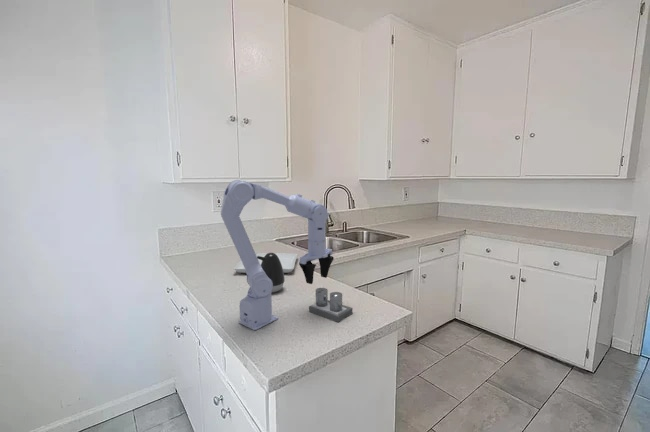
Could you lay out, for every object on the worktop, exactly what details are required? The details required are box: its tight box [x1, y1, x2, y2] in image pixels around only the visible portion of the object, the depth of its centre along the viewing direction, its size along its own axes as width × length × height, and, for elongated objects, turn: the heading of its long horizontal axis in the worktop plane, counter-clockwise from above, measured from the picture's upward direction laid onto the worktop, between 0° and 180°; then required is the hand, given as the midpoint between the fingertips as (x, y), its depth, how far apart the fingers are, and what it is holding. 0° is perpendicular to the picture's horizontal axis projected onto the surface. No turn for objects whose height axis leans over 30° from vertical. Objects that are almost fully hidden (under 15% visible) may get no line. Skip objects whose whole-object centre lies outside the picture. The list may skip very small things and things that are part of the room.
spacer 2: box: [329, 291, 343, 312], centre depth 100 cm, size 4×4×5 cm
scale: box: [308, 299, 353, 323], centre depth 103 cm, size 8×12×2 cm, turn 52°
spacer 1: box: [315, 287, 329, 307], centre depth 104 cm, size 4×4×5 cm
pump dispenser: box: [257, 252, 286, 294], centre depth 121 cm, size 10×10×15 cm
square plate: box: [233, 252, 299, 274], centre depth 153 cm, size 27×27×4 cm
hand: (316, 280), depth 104 cm, fingers open, 7 cm apart
